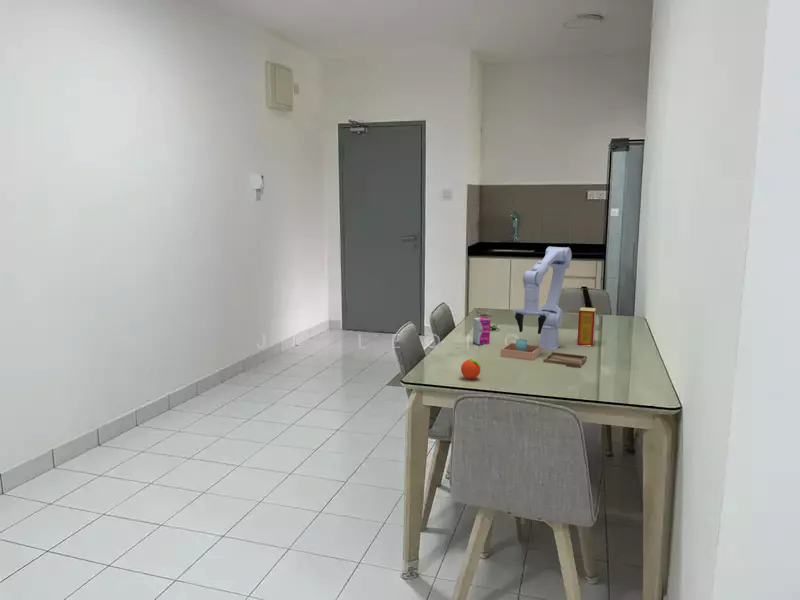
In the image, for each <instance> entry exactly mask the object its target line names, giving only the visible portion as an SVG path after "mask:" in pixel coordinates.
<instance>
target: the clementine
mask: <svg viewBox="0 0 800 600" xmlns="http://www.w3.org/2000/svg"><path fill="white" fill-rule="evenodd" d="M481 368H482V367H481V364H480V362H478V361H477V360H475V359H471V358H470V359H466V360H465V361H464V362H463V363H462V364H461V367H460V371H461V374H462V376H463V377H464V378H465V379H468V380H473V379H476V378H478V376H479V375H480V374H481Z"/></svg>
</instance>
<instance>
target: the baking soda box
mask: <svg viewBox="0 0 800 600" xmlns="http://www.w3.org/2000/svg"><path fill="white" fill-rule="evenodd" d="M596 314H597V308H596V307H583V306H581V307H580V308H579V309H578V321H577V322H578V324H577V326H578V327H577V341H576V342H577V344H576V345H577V346H582V345H591V346H590V347H593V346H594V344H595V335H596V334H595V333H596V316H597V315H596ZM593 343H594V344H593Z"/></svg>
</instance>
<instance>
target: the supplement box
mask: <svg viewBox="0 0 800 600" xmlns="http://www.w3.org/2000/svg"><path fill="white" fill-rule="evenodd" d="M472 331H473V333H472V344H474V343H475V345H476V346H483V345H490V336H491V335H490V334H491V319H490V318H487V317H474V318H473V330H472Z"/></svg>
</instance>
